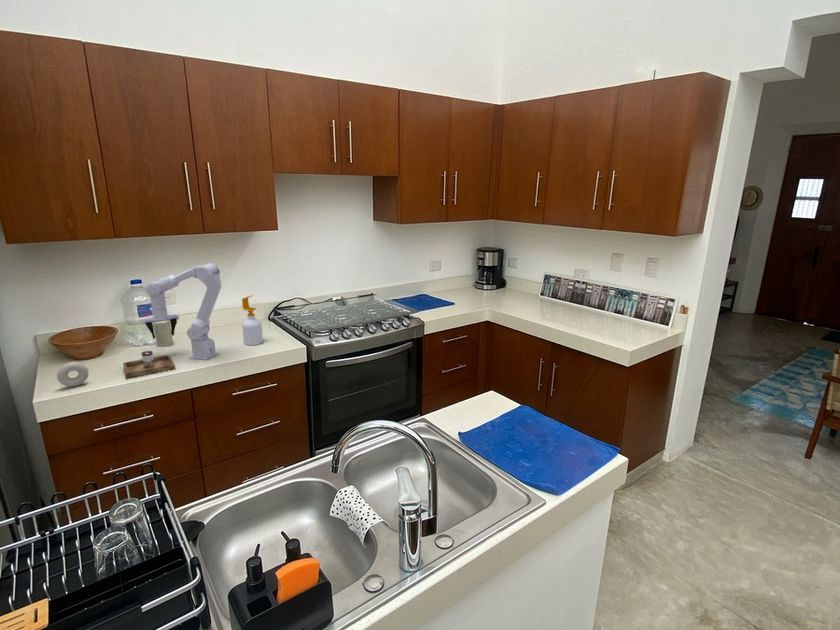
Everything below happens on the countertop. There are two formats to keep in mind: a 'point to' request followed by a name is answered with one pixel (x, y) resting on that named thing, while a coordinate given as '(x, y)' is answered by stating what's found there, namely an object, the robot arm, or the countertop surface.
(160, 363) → the walnut tray
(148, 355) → the steel shaker
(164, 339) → the skincare box
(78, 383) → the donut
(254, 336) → the soap bottle
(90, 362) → the countertop surface
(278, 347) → the countertop surface
